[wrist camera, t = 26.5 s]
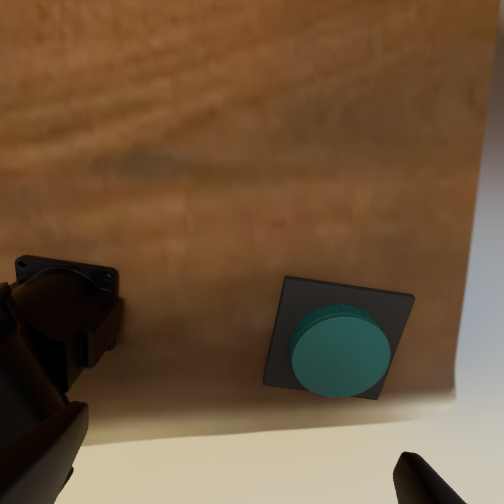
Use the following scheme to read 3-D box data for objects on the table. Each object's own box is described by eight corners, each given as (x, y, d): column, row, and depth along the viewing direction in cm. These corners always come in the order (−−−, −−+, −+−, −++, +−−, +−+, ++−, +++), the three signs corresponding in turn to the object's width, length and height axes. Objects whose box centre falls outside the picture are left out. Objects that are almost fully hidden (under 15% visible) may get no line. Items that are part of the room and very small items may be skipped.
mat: (262, 379, 25) (262, 385, 24) (285, 275, 22) (285, 278, 21) (374, 394, 25) (377, 400, 24) (411, 294, 22) (416, 298, 21)
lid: (329, 394, 24) (335, 413, 23) (270, 344, 23) (271, 359, 21) (399, 344, 23) (410, 359, 21) (340, 285, 21) (347, 297, 20)
